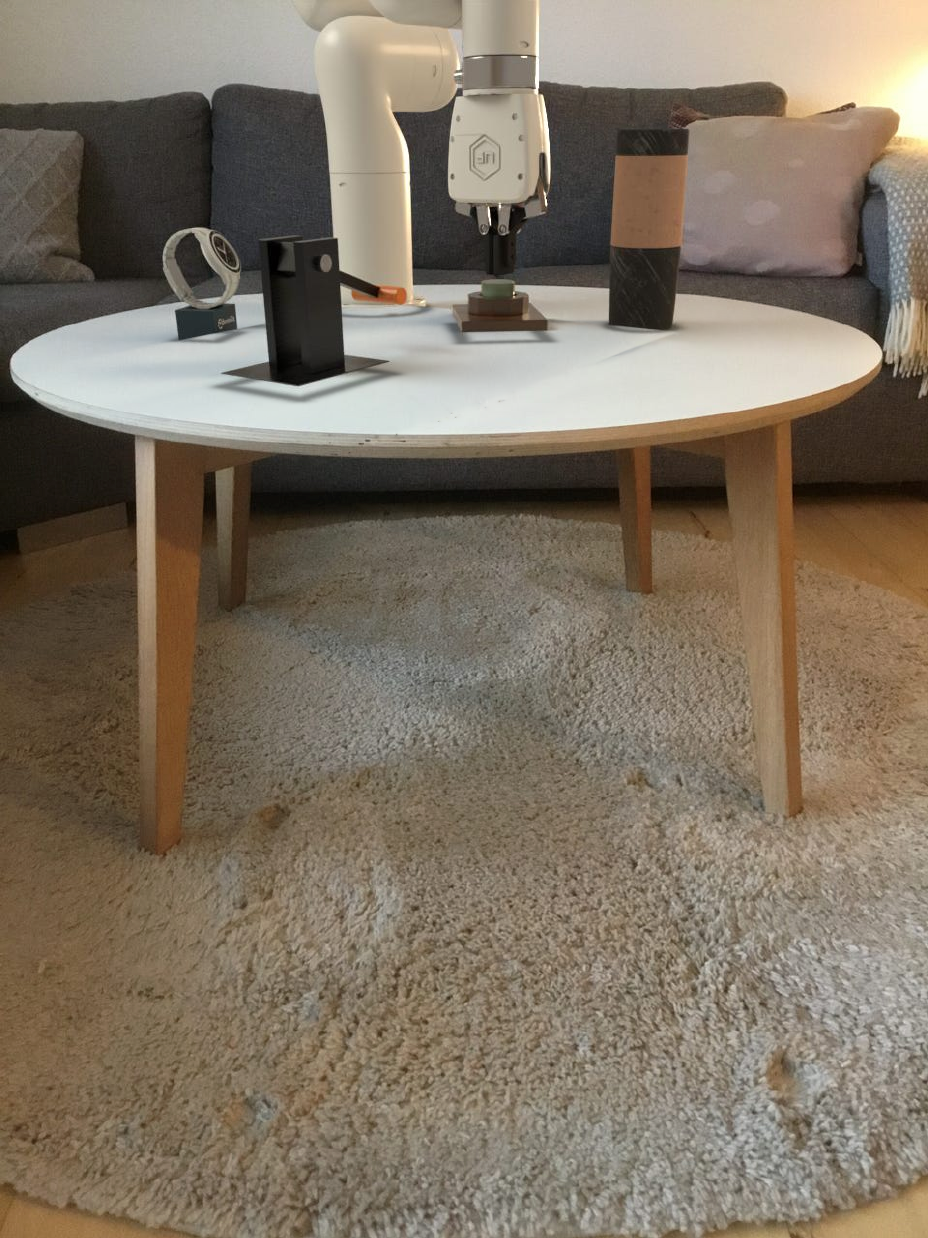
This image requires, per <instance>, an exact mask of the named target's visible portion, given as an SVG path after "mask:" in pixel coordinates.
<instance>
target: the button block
mask: <svg viewBox="0 0 928 1238" xmlns="http://www.w3.org/2000/svg"><path fill="white" fill-rule="evenodd" d="M466 297H467V303H461V304H455V303H453V304H451V305H452V307H451V309H452V310H451V311H452V312H451V313H452V314H451V315H452V316H453V318H454V320H455V322H456V324H457V326H458V329H459V330H460V332H461V333H491V332H494V333H495V332H496V333H497V332H529V331H530V332H532V331H533V332H534V331H536V332H537V331H539V332H541V331H548V328H549V327H548V325H549V323H548V322H549V319H548V318H547V317H546V316H544V315H543V314H542V313H541V312H540V311H539V310H538V309H537V308H536V307H535V306H534V305H533V304H532V303H530V295H529V294H528V293H527V292H524V291H518V290H515V296H512V297H484V296H481V290H479V291H472V292H470V293H468V294H467V296H466Z"/></svg>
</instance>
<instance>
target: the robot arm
mask: <svg viewBox="0 0 928 1238" xmlns="http://www.w3.org/2000/svg"><path fill="white" fill-rule="evenodd" d="M290 1H291V3H292V5H293V7H294V9H295V10H296V12H297V14H298V15H299V17H300V18H301V19H302V21H303V22H304V23H305V25H306V26H307V27H308V28H310V29H311V30H313V31H315V32H318V33H319V35H318V36H317V38H316V41H315V44H314V48H313V68H314V69H313V70H314V74H315V75H314V76H315V80H316V86H317V91H318V94H319V99H320V102H321V107H322V112H323V119H324V124H325V133H326V143H327V145H326V146H327V156H328V157H327V159H328V173H329V184H330V201H331V217H332V218H331V220H332V238H338V251H339V269H340V271H343V272H345V273H347V274H350V275H352V276H354V277H357V278H359V279H361V280H364V281H366V282H369V283H371V284H373V285H382V286H393V287H403V288H404V289H405V290H406V293H407V298H406V301H405V303H404V304H403V305H396V304H386V303H377V302H367V301H357V300H354V299H353V297H352V295H351V290H350V289H348V288H345V287H343V286H340V287H341V304H342V309H345V308H346V309H347V308H393V307H403V306H414V307H415V306H416V307H427V305H426V303H427V302H426V301H427V300H426V297H424V296H422V295H419V294H415V293H414V282H413V243H412V242H413V241H412V206H411V205H412V203H411V201H412V200H411V171H410V155H409V149H408V144H407V142H406V139H405V137H404V134H403V132H402V129H401V127H400V125H399V124H398V121H397V120H396V117H395V115H394V113H427V112H434V111H438V110H440V109H442V108H444V107H445V106H447V105H448V104H449V103H451V101H452V100H453V98H454V97H455V101H454V106H453V110H452V115H451V116H452V117H451V123H450V131H449V141H448V160H447V161H448V163H447V164H448V165H447V167H448V168H447V184H448V185H447V186H448V187H447V189H448V194H449V197H450V198H451V199H452V200H453V201H455V205H454V209H455V211H456V212H457V214H461V215H463V216H467V217H471V218H472V220H473V221H474V222H475V223H476V225H477V226H478V231H479V233H480V234H481V235H483V236H484V237H483V239H484V240H483V244H484V245H483V246H484V247H483V248H484V251H483V252H484V253H483V254H484V257H483V259H484V264H485V274H486V275H487V276H493V275H495V276H504V275H510V274H513V273H514V272H515V265H516V263H517V234H520V232H521V231H522V227H523V226H524V225H525V223H526V222H527V221H528V220H529V219H530V218H535V217H538V216H542V215H545V214H546V213H547V212H548V203H547V199H546V197H547V196H548V194H549V192H550V183H551V182H550V181H551V153H550V152H551V150H550V135H549V125H548V117H547V110H546V105H545V99H544V95H543V94H542V93H539V50H540V49H539V45H540V44H539V42H540V39H539V38H540V37H539V36H540V0H290ZM450 30H459V31H460V30H461V46H462V48H461V49H462V60H461V65H460V58H459V57H460V56H459V52H458V49H457V46H456V43H455V39H454V38H453V35H452V33H451V31H450ZM459 85H461V90H462V96H455V95H456V94H457V90H458V87H459ZM526 202H528V203H527V204H526Z"/></svg>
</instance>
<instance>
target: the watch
mask: <svg viewBox="0 0 928 1238" xmlns="http://www.w3.org/2000/svg"><path fill="white" fill-rule="evenodd" d="M190 233H192V234H194V237H195V238H196V239H197V241H199V243H200V249H201V251H202V255H203V256H204V258H205V260H206V261H207V263H208V265H209V266H210V267H211V269H212V270H213V271H214V272H215V273H216V274H217V275H219V276H220V278H221V280H222V283H223V284H224V285H225V290H224V291H223V294H222V296H221V297H220V298H219V299H218V300H217V301H216V302H206V301H203V300H200V299H198V298H196V296H194V291H193V289H191V287H190V286H189V284H188V283H187V281H186V279H185V277H184V275H183V274H182V273H183V272H182V270H181V269H180V266H179V265H178V263H177V259H176V258H175V253H176V248H177V246H178V244H179V242H181V240H182V239H183V238H184V237H185V236H186V235H188V234H190ZM162 265H163V267H162V271H163V273H164V275H165V277H166V280H167V282H168V284H169V286H170V287H171V289H172V291H173V292H174V294H175V295H176V296H177V298H178V299H179V301H181V302H183V303H185V304H187V305H186V306H184V307H180V308H177V309H175V310H174V313H175V320H176V321H175V323H176V331H177V338H178V341H183V340H187V339H188V340H189V339H195V338H198V337H203V336H208V335H214V334H219V333H224V332H229V331H234V330H235V331H236V330H238V323H237V311H236V303H229V301H230V300H231V299H232V298H233V296H234V295H235V293H236V292H237V290H238V287H239V284H240V280H241V276H240V275H241V274H240V273H241V271H242V264H241V260H240V258H239V255H238V252H237V251H236V249H235V248H234V246H233V245H232V243H231V242H230V241H229V240H228V239H227V237H225V235H223V234H222V233H221V232H219V231H217V230H213V229H209V228H207V227H192V228H186V229H185V228H184V229H181V230H179V231H177V232H175V233H173V234H172V235H171V236H170V237H169V238H168V240H167V241H166V243H165V246H164V247H163V252H162ZM227 302H228V303H227Z"/></svg>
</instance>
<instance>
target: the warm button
mask: <svg viewBox="0 0 928 1238" xmlns="http://www.w3.org/2000/svg"><path fill="white" fill-rule="evenodd" d="M480 284H481V287H480V288H481V290H480V291H481V296H484V297H512V296H515V291H516V281H515V280H512V279H504V278H503V279H501V278H498V279H496V278H495V279H484V280H482V281H481V282H480Z"/></svg>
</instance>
